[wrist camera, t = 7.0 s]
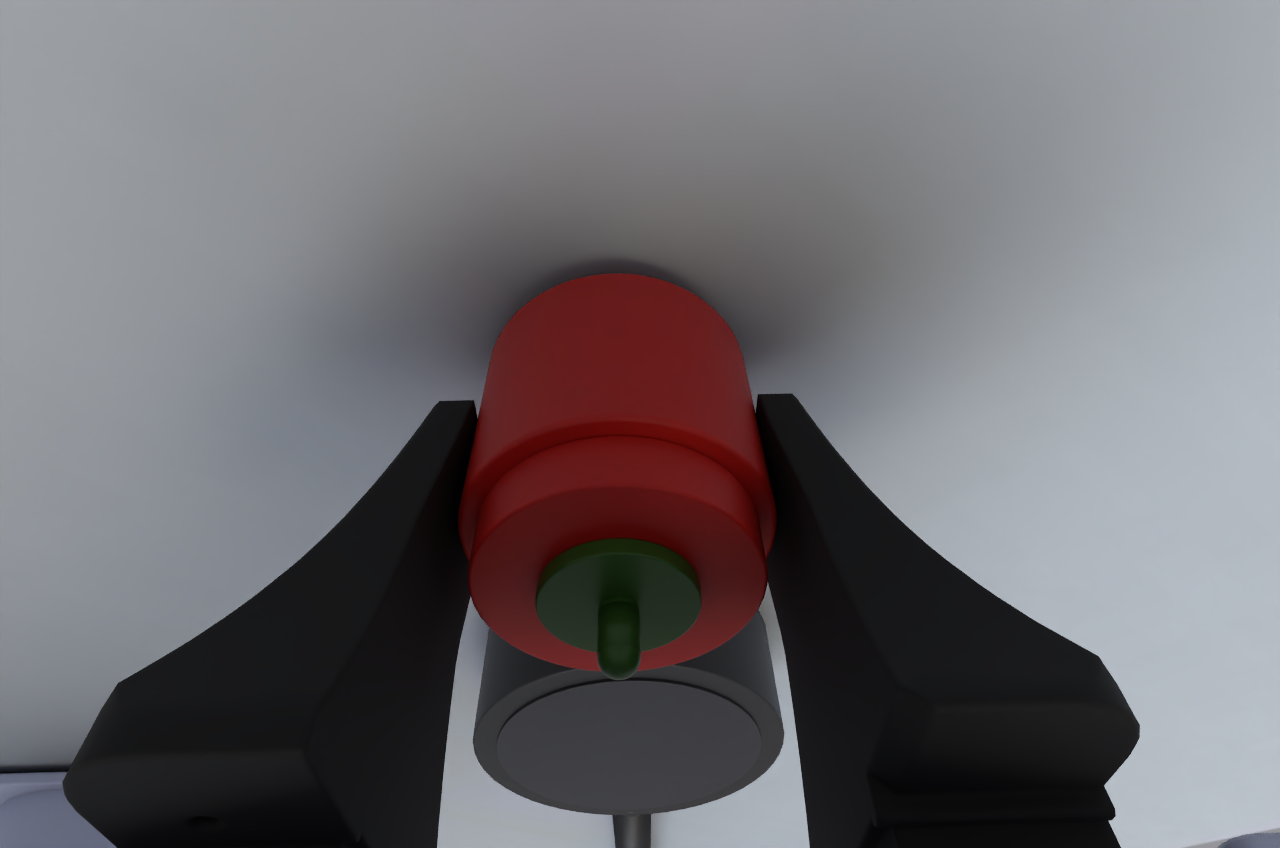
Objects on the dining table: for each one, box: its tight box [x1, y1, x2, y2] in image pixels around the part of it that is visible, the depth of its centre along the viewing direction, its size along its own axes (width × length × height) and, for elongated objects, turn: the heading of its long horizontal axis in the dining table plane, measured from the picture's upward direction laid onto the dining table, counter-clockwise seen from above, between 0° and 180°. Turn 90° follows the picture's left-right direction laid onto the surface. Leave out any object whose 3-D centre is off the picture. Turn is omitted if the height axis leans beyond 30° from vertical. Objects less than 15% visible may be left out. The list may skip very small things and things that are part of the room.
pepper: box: [458, 273, 777, 680], centre depth 13 cm, size 5×5×6 cm
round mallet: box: [473, 610, 784, 848], centre depth 27 cm, size 26×8×3 cm, turn 0°
